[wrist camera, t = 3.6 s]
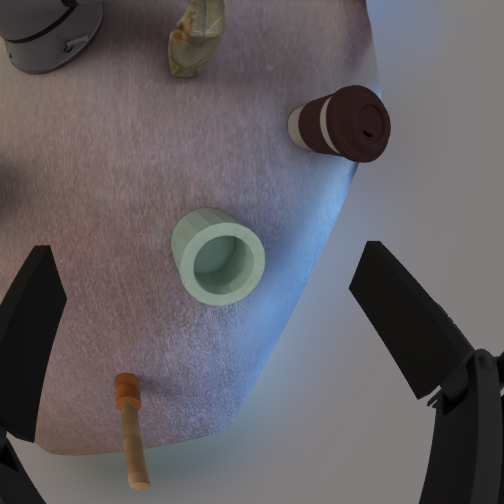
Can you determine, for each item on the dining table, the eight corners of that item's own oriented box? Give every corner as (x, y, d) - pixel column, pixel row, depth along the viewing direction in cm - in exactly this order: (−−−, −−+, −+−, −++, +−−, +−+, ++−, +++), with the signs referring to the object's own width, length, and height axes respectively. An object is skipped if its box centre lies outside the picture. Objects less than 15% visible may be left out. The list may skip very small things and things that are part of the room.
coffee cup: (305, 87, 39) (371, 69, 26) (340, 131, 44) (408, 131, 31) (266, 125, 39) (326, 114, 26) (305, 170, 44) (372, 180, 30)
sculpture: (205, 38, 31) (241, -5, 18) (201, 82, 33) (235, 55, 21) (165, 36, 29) (180, -12, 16) (160, 81, 31) (171, 51, 19)
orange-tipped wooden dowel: (116, 389, 43) (126, 492, 24) (114, 372, 42) (121, 480, 23) (139, 389, 45) (157, 491, 26) (138, 373, 44) (154, 479, 24)
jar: (167, 272, 41) (176, 305, 32) (175, 204, 38) (186, 218, 29) (232, 275, 45) (256, 305, 36) (243, 211, 42) (272, 227, 33)
